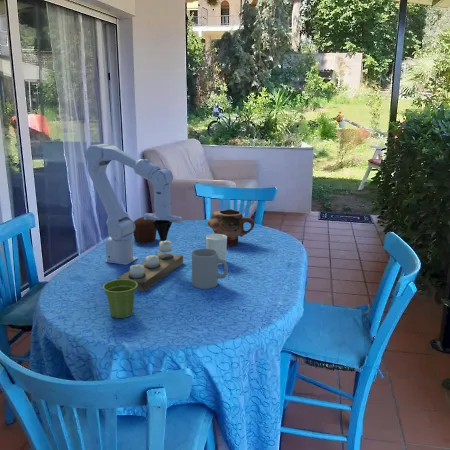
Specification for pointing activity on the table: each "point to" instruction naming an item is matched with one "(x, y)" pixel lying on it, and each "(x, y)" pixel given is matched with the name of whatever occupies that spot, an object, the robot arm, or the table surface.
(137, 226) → the muffin
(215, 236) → the white cup
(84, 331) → the table surface
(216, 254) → the mug
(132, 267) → the knob near
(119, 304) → the plant pot
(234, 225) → the brown ceramic rounded pot
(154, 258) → the knob middle
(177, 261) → the knob strip
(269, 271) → the table surface
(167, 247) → the knob far
